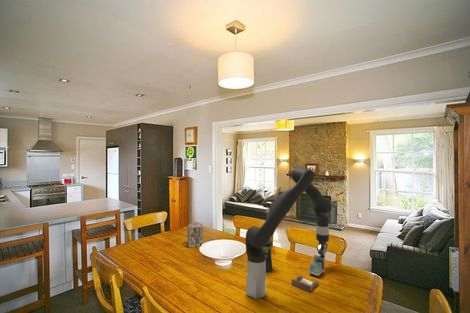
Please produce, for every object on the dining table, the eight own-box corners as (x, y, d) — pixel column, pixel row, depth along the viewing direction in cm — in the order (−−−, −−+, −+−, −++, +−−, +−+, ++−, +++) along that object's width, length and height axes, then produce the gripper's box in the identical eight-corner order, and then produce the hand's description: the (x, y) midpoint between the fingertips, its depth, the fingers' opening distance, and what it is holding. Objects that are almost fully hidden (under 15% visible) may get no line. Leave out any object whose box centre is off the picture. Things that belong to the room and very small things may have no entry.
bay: (310, 292, 120) (310, 286, 120) (291, 285, 126) (291, 279, 126) (318, 284, 128) (318, 278, 128) (300, 277, 134) (300, 272, 134)
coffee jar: (273, 267, 148) (273, 237, 148) (271, 272, 140) (271, 241, 141) (258, 265, 151) (258, 236, 151) (255, 270, 143) (255, 240, 143)
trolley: (318, 278, 134) (318, 262, 134) (308, 274, 138) (308, 259, 138) (324, 272, 140) (324, 257, 140) (314, 269, 144) (314, 254, 144)
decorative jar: (187, 242, 191) (187, 220, 191) (201, 241, 194) (201, 219, 195) (188, 248, 179) (189, 224, 180) (203, 246, 183) (204, 223, 183)
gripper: (324, 236, 139) (324, 265, 139) (332, 231, 149) (332, 258, 149) (312, 234, 144) (312, 262, 144) (320, 229, 154) (320, 255, 154)
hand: (322, 260), depth 147 cm, fingers closed
